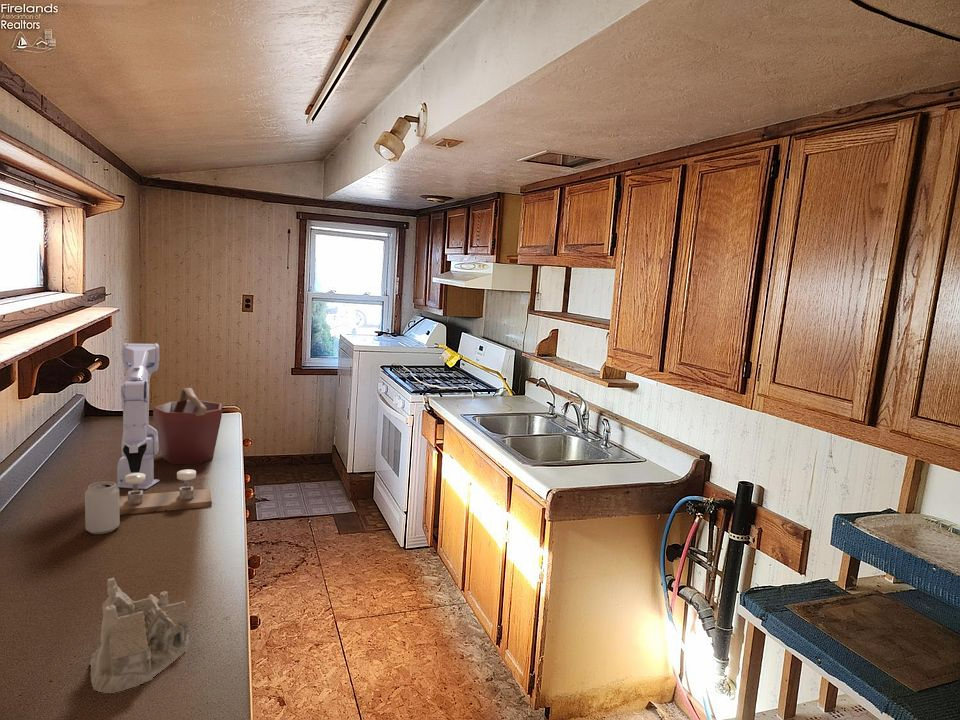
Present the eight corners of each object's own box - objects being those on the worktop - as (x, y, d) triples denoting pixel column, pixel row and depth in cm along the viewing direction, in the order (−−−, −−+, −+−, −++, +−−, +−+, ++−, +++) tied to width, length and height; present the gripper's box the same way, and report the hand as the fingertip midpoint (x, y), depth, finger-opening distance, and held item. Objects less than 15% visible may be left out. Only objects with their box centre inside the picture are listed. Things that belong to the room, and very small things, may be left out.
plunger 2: (176, 489, 175) (177, 475, 175) (176, 483, 180) (177, 470, 179) (196, 487, 177) (196, 474, 177) (195, 482, 182) (195, 468, 181)
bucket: (220, 466, 213) (221, 395, 210) (148, 469, 205) (148, 396, 202) (221, 446, 235) (222, 382, 232) (157, 449, 227) (157, 382, 224)
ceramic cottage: (82, 699, 97) (88, 607, 96) (94, 645, 111) (100, 565, 110) (191, 682, 104) (198, 597, 103) (189, 634, 118) (195, 558, 117)
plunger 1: (124, 493, 169) (124, 479, 169) (125, 487, 174) (125, 473, 173) (145, 491, 172) (145, 477, 171) (145, 486, 176) (145, 472, 176)
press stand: (106, 516, 166) (106, 501, 165) (110, 501, 175) (110, 488, 175) (211, 506, 177) (211, 492, 177) (209, 493, 187) (209, 480, 186)
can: (126, 527, 160) (126, 482, 158) (100, 537, 153) (99, 491, 151) (105, 521, 162) (104, 477, 161) (78, 531, 155) (77, 486, 154)
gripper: (150, 429, 166) (150, 477, 167) (152, 417, 179) (152, 462, 180) (120, 430, 163) (120, 479, 164) (124, 418, 175) (124, 464, 177)
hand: (135, 470), depth 172 cm, fingers closed
